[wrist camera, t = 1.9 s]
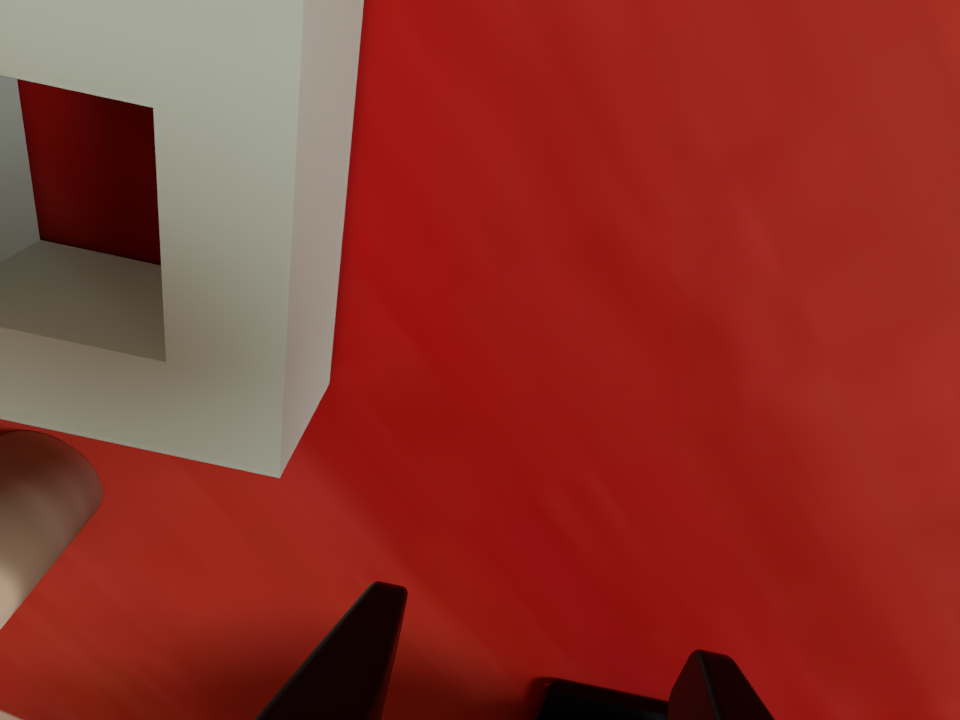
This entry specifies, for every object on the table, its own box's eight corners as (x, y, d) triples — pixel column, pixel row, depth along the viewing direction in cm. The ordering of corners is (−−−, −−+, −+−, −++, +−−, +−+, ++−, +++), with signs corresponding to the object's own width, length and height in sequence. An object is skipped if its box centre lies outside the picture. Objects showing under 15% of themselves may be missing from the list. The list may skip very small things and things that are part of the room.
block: (367, -35, 16) (305, -24, 12) (329, 383, 21) (279, 478, 18) (-135, -144, 16) (-352, -167, 12) (-39, 305, 21) (-166, 383, 18)
